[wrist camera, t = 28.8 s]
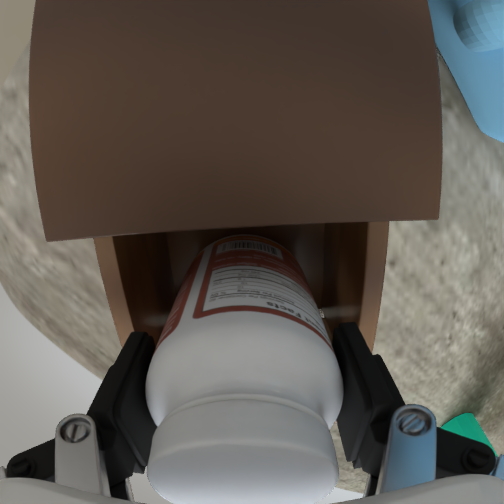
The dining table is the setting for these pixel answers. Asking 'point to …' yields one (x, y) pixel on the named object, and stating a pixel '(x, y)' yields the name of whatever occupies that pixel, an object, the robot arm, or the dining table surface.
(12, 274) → the dining table surface
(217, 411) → the pill bottle
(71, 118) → the cabinet
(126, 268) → the drawer
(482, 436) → the candle
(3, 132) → the dining table surface
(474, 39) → the teapot
